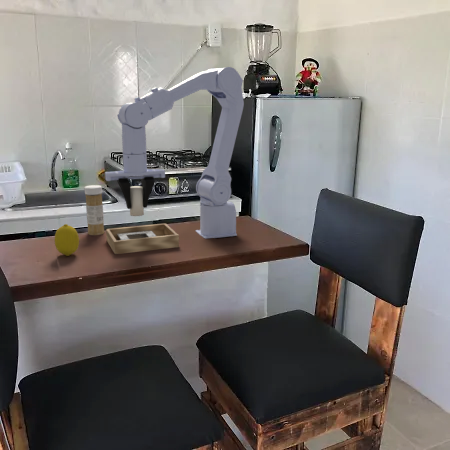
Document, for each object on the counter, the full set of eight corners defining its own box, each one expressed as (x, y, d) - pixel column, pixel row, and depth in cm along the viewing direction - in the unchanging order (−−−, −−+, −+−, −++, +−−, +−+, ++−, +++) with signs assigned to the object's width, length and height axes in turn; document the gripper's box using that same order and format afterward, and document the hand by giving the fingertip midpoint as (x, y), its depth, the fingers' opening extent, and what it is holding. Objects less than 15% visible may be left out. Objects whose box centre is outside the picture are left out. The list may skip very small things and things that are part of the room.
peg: (142, 212, 129) (141, 185, 128) (144, 215, 126) (143, 188, 125) (129, 213, 129) (128, 186, 127) (130, 216, 125) (129, 188, 124)
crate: (166, 235, 138) (165, 223, 137) (179, 248, 127) (178, 234, 126) (106, 242, 132) (106, 229, 131) (115, 255, 121) (114, 241, 120)
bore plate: (151, 237, 135) (151, 230, 134) (160, 247, 127) (159, 239, 126) (117, 241, 131) (117, 233, 131) (124, 251, 123) (123, 243, 123)
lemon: (54, 254, 122) (52, 222, 120) (78, 251, 124) (76, 220, 122) (57, 261, 117) (54, 228, 115) (81, 258, 119) (79, 225, 117)
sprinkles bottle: (100, 231, 142) (97, 184, 138) (107, 234, 139) (104, 186, 135) (84, 233, 139) (81, 185, 136) (92, 237, 136) (88, 188, 132)
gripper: (159, 150, 129) (160, 202, 133) (102, 152, 124) (105, 206, 128) (166, 153, 123) (168, 207, 127) (106, 155, 118) (109, 212, 121)
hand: (136, 207), depth 127 cm, fingers closed on peg, 3 cm apart
